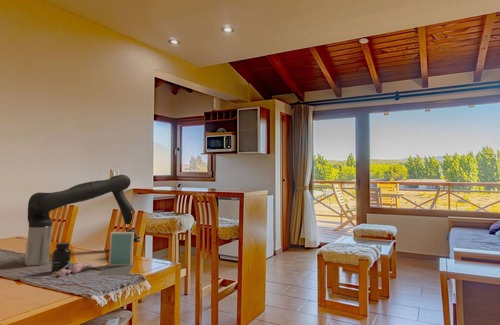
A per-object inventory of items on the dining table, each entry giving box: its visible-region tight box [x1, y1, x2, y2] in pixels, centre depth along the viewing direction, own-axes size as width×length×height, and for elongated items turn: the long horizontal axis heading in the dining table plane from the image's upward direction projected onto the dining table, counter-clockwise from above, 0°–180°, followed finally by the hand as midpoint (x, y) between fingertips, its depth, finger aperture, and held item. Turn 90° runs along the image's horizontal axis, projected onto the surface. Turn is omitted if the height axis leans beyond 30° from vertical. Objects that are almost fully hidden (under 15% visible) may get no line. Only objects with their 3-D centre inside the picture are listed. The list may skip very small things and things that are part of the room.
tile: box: [108, 231, 134, 266], centre depth 147 cm, size 2×10×15 cm, turn 103°
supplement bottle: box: [50, 241, 72, 274], centre depth 135 cm, size 7×7×12 cm
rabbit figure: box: [51, 260, 93, 278], centre depth 132 cm, size 6×6×15 cm
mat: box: [96, 261, 136, 277], centre depth 140 cm, size 22×12×1 cm, turn 13°
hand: (124, 242), depth 156 cm, fingers closed
